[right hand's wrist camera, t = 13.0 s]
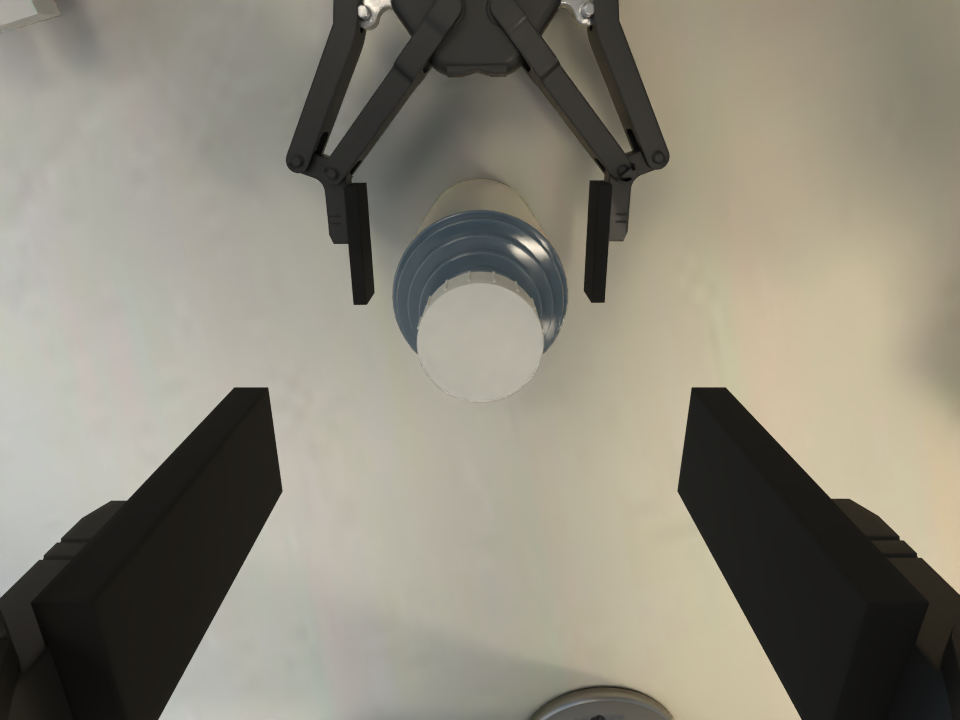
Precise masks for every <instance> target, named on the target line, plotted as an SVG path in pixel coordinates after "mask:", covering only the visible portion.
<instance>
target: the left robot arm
mask: <svg viewBox="0 0 960 720" xmlns="http://www.w3.org/2000/svg"><path fill="white" fill-rule="evenodd" d="M559 8H565V9H567V10H568V11H570V13H571V14H572V17H573V21H574V23H575V24H576V25H577V26H578V27H580V28H587V33H588V37H589V41H590V44H591V47H592V50H593V53H594V55H595V58H596V60H597V63H598V65H599V68H600V70H601V73H602V75H603V78H604V80H605V83H606V85H607V88H608V90H609V93H610V96H611V98H612V101H613V103H614V106H615V108H616V111H617V113H618V116H619V118H620V121H621V123H622V126H623V128H624V131H625V133H626V136H627V138H628V141H629V143H630V146H631V148H632V151H630V152H628V153H625V152H624V151H623V150H622V148H621V147H620V146H619V144H618V143H617V142H616V140H615V139H614V137H613V136H612V135H611V133H610V132H609V131H608V129H607V128H606V127H605V125H604V124H603V123H602V121H601V120H600V118H599V117H598V116H597V114H596V113H595V112H594V110H593V109H592V108H591V106H590V105H589V103H588V102H587V101H586V99H585V98H584V97H583V95H582V94H581V93H580V91H579V90H578V88H577V87H576V86H575V84H574V83H573V82H572V80H571V79H570V78H569V76H568V75H567V74H566V72H565V71H564V69H563V68H562V67H561V65H560V63H559V61H558V59H557V57H556V56H555V54H554V53H553V52H552V50H551V49H550V48H549V46H548V45H547V44H546V42H545V41H544V39H543V38H542V37H541V35H542V34H543V32H544V31H545V29H546V28H547V26H548V25H549V23H550V22H551V20H552V19H553V17H554V16H555V14H556V12H557V11H558V9H559ZM391 9H393V10H394V12H395V14H396V15H397V17H398V18H399V19H400V21H401V22H402V24H403V25H404V27H405V28H406V30H407V31H408V32H409V34H410V35H411V39H410V40H409V42H408V43H407V45H406V46H405V47H404V49H403V50H402V52H401V53H400V55H399V56H398V58H397V59H396V61H395V63H394V65H393V67H392V69H391V70H390V72H389V73H388V75H387V76H386V77H385V79H384V80H383V82H382V83H381V85H380V86H379V87H378V89H377V90H376V92H375V93H374V95H373V96H372V97H371V99H370V100H369V102H368V103H367V104H366V106H365V107H364V109H363V110H362V112H361V113H360V114H359V116H358V117H357V119H356V120H355V122H354V123H353V124H352V126H351V127H350V129H349V130H348V132H347V133H346V134H345V136H344V137H343V139H342V140H341V141H340V143H339V144H338V146H337V147H336V149H335V150H334V151H333V153H332V154H331V156H328V155H325V154H323V153H324V150H325V147H326V145H327V142H328V139H329V137H330V134H331V131H332V129H333V126H334V123H335V121H336V118H337V115H338V113H339V110H340V107H341V104H342V102H343V99H344V96H345V94H346V91H347V88H348V86H349V83H350V80H351V78H352V75H353V72H354V70H355V67H356V64H357V62H358V59H359V56H360V53H361V51H362V47H363V44H364V40H365V35H366V30H373V29H375V28H376V27H377V26H378V24H379V21H380V18H381V15H382V14H383V13H384V12H385V11H387V10H391ZM520 66H522V67H523V69H524V70H525V71H526V73H527V74H528V75H529V77H530V78H531V79H532V81H533V82H534V83H535V84H536V85H537V86H538V87H539V88H540V90H541V91H542V92H543V94H544V95H545V96H546V98H547V99H548V100H549V101H550V103H551V104H552V105H553V107H554V108H555V109H556V111H557V112H558V113H559V115H560V116H561V117H562V119H563V120H564V121H565V123H566V124H567V125H568V127H569V128H570V129H571V131H572V132H573V133H574V135H575V136H576V137H577V139H578V140H579V141H580V143H581V144H582V145H583V146H584V148H585V149H586V150H587V152H588V153H589V154H590V156H591V157H592V158H593V160H594V161H595V162H596V164H597V165H598V166H599V168H600V169H601V170H602V172H603V173H604V174H605V176H604V181H603V180H600V181H590V186H589V204H588V223H587V241H586V260H585V278H584V292H585V293H586V295H587V297H588V298H589V300H590V301H591V303H605V288H606V273H607V258H608V244H609V241H623V240H624V238H625V236H626V234H627V231H628V218H629V206H630V193H631V185H632V183H633V181H634V180H635V179H636V178H637V177H638V176H640V175H642V174H645V173H647V172H650V171H653V170H655V169H657V170H658V169H662V168H663V167H665V166H666V165H667V163H668V161H669V152H668V149H667V146H666V144H665V141H664V138H663V136H662V133H661V130H660V128H659V125H658V122H657V120H656V117H655V114H654V112H653V109H652V106H651V104H650V101H649V98H648V96H647V93H646V90H645V88H644V85H643V82H642V80H641V77H640V74H639V72H638V69H637V66H636V64H635V61H634V59H633V56H632V53H631V51H630V48H629V45H628V43H627V40H626V37H625V35H624V32H623V29H622V27H621V24H620V21H619V2H618V0H334V5H333V25H332V28H331V31H330V34H329V37H328V40H327V42H326V45H325V48H324V51H323V54H322V57H321V59H320V62H319V65H318V68H317V71H316V74H315V77H314V79H313V82H312V85H311V88H310V91H309V94H308V96H307V99H306V102H305V105H304V108H303V111H302V113H301V116H300V119H299V122H298V125H297V128H296V130H295V133H294V136H293V139H292V142H291V145H290V147H289V150H288V153H287V156H286V163H287V166H288V168H289V169H290V170H291V171H293V172H295V173H302V174H305V175H307V176H310V177H313V178H315V179H317V180H319V181H320V182H321V183H322V185H323V187H324V189H325V195H326V205H327V216H328V224H329V225H328V226H329V235H330V237H331V239H332V241H333V243H334V244H348V245H349V257H350V268H351V279H352V291H353V302H354V305H367V304H368V302H369V301H370V299H371V297H372V296H373V294H374V293H375V292H374V278H373V265H372V251H371V238H370V225H369V211H368V198H367V184H366V183H352V180H351V179H352V178H353V176H352V175H353V174H354V173H355V171H356V170H357V169H358V167H359V166H360V164H361V163H362V162H363V160H364V159H365V157H366V156H367V155H368V153H369V152H370V151H371V149H372V148H373V146H374V145H375V144H376V142H377V141H378V139H379V138H380V137H381V135H382V134H383V133H384V131H385V130H386V128H387V127H388V126H389V124H390V123H391V122H392V120H393V119H394V117H395V116H396V115H397V113H398V112H399V110H400V109H401V108H402V106H403V105H404V104H405V102H406V101H407V99H408V98H409V97H410V95H411V94H412V92H413V91H414V90H415V88H416V87H417V86H418V85H419V84H420V83H421V82H422V80H423V79H424V78H425V76H426V75H427V74H428V72H429V71H430V69H431V68H432V67H433V68H434V69H436V70H437V71H438V72H440V73H442V74H444V75H447V76H448V77H464V76H467V75H470V74H474V73H480V74H484V75H487V76H491V77H506V75H508V74H510V73H513V72H514V71H516V70H517V69H518V68H519V67H520Z"/></svg>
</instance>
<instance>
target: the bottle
mask: <svg viewBox="0 0 960 720" xmlns="http://www.w3.org/2000/svg"><path fill="white" fill-rule="evenodd" d="M468 271H471V272H491V273H492V272H495V273H496V274H499V275H502V276H505V277H507V278H509V279H510V280H512V281H514V282H515V281H516V282H517V284H518V285H519V286H520V287H521V288H522V289H524V290H525V292H526V293H527V294H528V295H529V297H530V298H533V301H534V304H535V307H536V311H537V314H538V317H539V319H541V322H542V326H543V329H544V332H543V337H544V348H543V354H544V353H545V352H546V351H547V350H548V348H549V347H550V346H551V344H552V343H553V342H554V340H555V338H556V337H557V335H558V333H559V331H560V329H561V327H562V324H563V322H564V318H565V315H566V310H567V303H568V287H567V279H566V275H565V272H564V268H563V266H562V263H561V261H560V259H559V257H558V255H557V253H556V252H555V250H554V248H553V246H552V245H551V243H550V242H549V240H548V238H547V237H546V235H545V233H544V232H543V230H542V229H541V227H540V225H539V224H538V222H537V220H536V219H535V217H534V216H533V214H532V212H531V211H530V209H529V207H528V206H527V204H526V202H525V201H524V200H523V199H522V197H521V196H520V195H519V194H518V193H517V192H515V191H514V190H513V189H511V188H510V187H508V186H507V185H505V184H503V183H500V182H497V181H494V180H490V179H471V180H466V181H463V182H460V183H458V184H456V185H454V186H452V187H450V188H449V189H447V190H446V191H445V192H444V193H443V194H442V195H441V196H440V197H439V198H438V199H437V200H436V202H435V203H434V205H433V206H432V208H431V209H430V211H429V213H428V214H427V216H426V218H425V219H424V221H423V223H422V224H421V226H420V227H419V229H418V231H417V232H416V234H415V236H414V237H413V239H412V241H411V242H410V244H409V245H408V247H407V249H406V250H405V252H404V254H403V256H402V258H401V260H400V262H399V264H398V267H397V270H396V273H395V277H394V283H393V308H394V313H395V317H396V320H397V323H398V326H399V328H400V331H401V332H402V334H403V336H404V338H405V340H406V341H407V342H408V344H409V345H410V347H411V348H412V349H413V350H414V351H415V352H416V353H417V354H418V352H417V334H418V329H417V326H418V323H419V320H420V317H422V315H423V312H424V309H425V307H426V305H427V301H428V298H429V296H432V295H433V293H434V292H435V291H436V290H437V289H438V288H439V287H440V286H441V285H443V284H444V283H445V281H446V280H447V279H448V280H450V279H452V278H454V277H456V276H458V275H462V274H465V273H468Z"/></svg>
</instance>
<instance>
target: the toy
mask: <svg viewBox="0 0 960 720" xmlns="http://www.w3.org/2000/svg"><path fill="white" fill-rule="evenodd" d="M59 15H62V14H61V12H60V10H59V8H58V6H57V4H56V2H55V0H0V28H20V27H24V26H27V25H30V24H33V23H36V22H40V21H43V20H46V19H49V18H52V17H56V16H59ZM0 34H1V31H0Z"/></svg>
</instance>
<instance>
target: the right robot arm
mask: <svg viewBox="0 0 960 720" xmlns="http://www.w3.org/2000/svg"><path fill="white" fill-rule="evenodd" d="M281 493H282V484H281V477H280V470H279V462H278V455H277V448H276V441H275V434H274V426H273V419H272V412H271V405H270V397H269V390H268V388H233V390H232V391H231V392H230V393H229V394H228V395H227V396H226V397H225V398H224V399H223V400H222V401H221V402H220V403H219V404H218V405H217V406H216V407H215V409H214V410H213V411H212V412H211V413H210V414H209V415H208V416H207V417H206V418H205V419H204V420H203V421H202V422H201V423H200V424H199V425H198V426H197V428H196V429H195V430H194V431H193V432H192V433H191V434H190V435H189V436H188V437H187V438H186V439H185V440H184V441H183V442H182V443H181V444H180V445H179V447H178V448H177V449H176V450H175V451H174V452H173V453H172V454H171V455H170V456H169V457H168V458H167V459H166V460H165V461H164V462H163V463H162V464H161V466H160V467H159V468H158V469H157V470H156V471H155V472H154V473H153V474H152V475H151V476H150V477H149V478H148V479H147V480H146V481H145V482H144V483H143V485H142V486H141V487H140V488H139V489H138V490H137V491H136V492H135V493H134V494H133V495H132V496H131V497H130V498H129V499H128V500H127V501H110V502H108V503H107V504H105V505H103V506H102V507H100V508H98V509H97V510H95V511H93V512H92V513H90V514H88V515H86V516H85V517H83V518H82V519H81V520H80V521H79V522H78V523H77V524H76V525H74V526H73V527H72V528H71V529H70V530H69V531H68V532H67V533H66V534H65V535H64V536H63V537H62V538H61V542H60V543H56V544H55V545H54V546H53V547H52V548H51V549H50V550H49V551H48V552H47V553H46V554H45V555H44V559H43V560H39V561H38V562H37V563H36V564H35V565H34V566H33V567H32V568H31V569H30V570H29V571H28V572H27V573H25V574H24V575H23V576H22V577H21V578H20V579H19V580H18V581H17V582H16V583H15V584H14V585H13V586H12V587H11V588H10V589H9V590H8V591H7V592H6V593H5V594H4V595H3V596H2V597H1V598H0V720H158V719H159V717H160V715H161V714H162V712H163V710H164V708H165V706H166V704H167V703H168V701H169V699H170V697H171V695H172V693H173V692H174V690H175V688H176V686H177V684H178V682H179V680H180V679H181V677H182V675H183V673H184V671H185V669H186V668H187V666H188V664H189V662H190V660H191V658H192V657H193V655H194V653H195V651H196V649H197V647H198V646H199V644H200V642H201V640H202V638H203V636H204V635H205V633H206V631H207V629H208V627H209V625H210V624H211V622H212V620H213V618H214V616H215V614H216V613H217V611H218V609H219V607H220V605H221V603H222V601H223V600H224V598H225V596H226V594H227V592H228V590H229V589H230V587H231V585H232V583H233V581H234V579H235V578H236V576H237V574H238V572H239V570H240V568H241V567H242V565H243V563H244V561H245V559H246V557H247V556H248V554H249V552H250V550H251V548H252V546H253V545H254V543H255V541H256V539H257V537H258V535H259V533H260V532H261V530H262V528H263V526H264V524H265V522H266V521H267V519H268V517H269V515H270V513H271V511H272V510H273V508H274V506H275V504H276V502H277V500H278V499H279V497H280V495H281ZM678 493H679V495H680V497H681V499H682V500H683V502H684V504H685V506H686V508H687V510H688V511H689V513H690V515H691V517H692V519H693V521H694V522H695V524H696V526H697V528H698V530H699V532H700V533H701V535H702V537H703V539H704V541H705V543H706V545H707V546H708V548H709V550H710V552H711V554H712V556H713V557H714V559H715V561H716V563H717V565H718V567H719V568H720V570H721V572H722V574H723V576H724V578H725V579H726V581H727V583H728V585H729V587H730V589H731V590H732V592H733V594H734V596H735V598H736V600H737V601H738V603H739V605H740V607H741V609H742V611H743V612H744V614H745V616H746V618H747V620H748V622H749V624H750V625H751V627H752V629H753V631H754V633H755V635H756V636H757V638H758V640H759V642H760V644H761V646H762V647H763V649H764V651H765V653H766V655H767V657H768V658H769V660H770V662H771V664H772V666H773V668H774V669H775V671H776V673H777V675H778V677H779V679H780V680H781V682H782V684H783V686H784V688H785V690H786V692H787V693H788V695H789V697H790V699H791V701H792V703H793V704H794V706H795V708H796V710H797V712H798V714H799V715H800V717H801V719H802V720H960V595H959V594H958V593H957V592H956V591H955V590H954V589H953V588H952V587H951V586H950V585H949V584H948V583H947V582H946V581H945V580H944V579H943V578H942V577H941V576H940V575H939V574H938V573H937V572H935V571H934V570H933V569H932V568H931V567H930V566H929V565H928V564H927V563H926V562H925V561H924V560H923V559H922V558H918V557H917V553H916V552H915V551H914V550H913V549H912V548H911V547H910V546H909V545H908V544H907V543H906V542H905V541H900V539H899V536H898V535H897V534H896V533H895V532H894V531H893V530H892V529H891V528H890V527H889V526H888V525H887V524H886V523H885V522H884V521H883V520H882V519H881V518H880V517H879V516H877V515H876V514H874V513H872V512H871V511H869V510H867V509H866V508H864V507H862V506H861V505H859V504H857V503H856V502H854V501H852V500H850V499H831V498H830V497H829V496H828V495H827V494H826V493H825V492H824V491H823V490H822V489H821V488H820V487H819V486H818V485H817V483H816V482H815V481H814V480H813V479H812V478H811V477H810V476H809V475H808V474H807V473H806V472H805V471H804V470H803V469H802V468H801V467H800V466H799V464H798V463H797V462H796V461H795V460H794V459H793V458H792V457H791V456H790V455H789V454H788V453H787V452H786V451H785V450H784V449H783V448H782V447H781V445H780V444H779V443H778V442H777V441H776V440H775V439H774V438H773V437H772V436H771V435H770V434H769V433H768V432H767V431H766V430H765V429H764V428H763V426H762V425H761V424H760V423H759V422H758V421H757V420H756V419H755V418H754V417H753V416H752V415H751V414H750V413H749V412H748V411H747V410H746V409H745V407H744V406H743V405H742V404H741V403H740V402H739V401H738V400H737V399H736V398H735V397H734V396H733V395H732V394H731V393H730V392H729V391H728V390H727V388H692V390H691V397H690V405H689V412H688V419H687V426H686V434H685V441H684V448H683V455H682V462H681V470H680V477H679V484H678ZM530 720H674V719H673V717H672V716H671V715H670V713H669V712H668V711H667V710H666V709H665V708H664V707H663V706H662V705H660V704H659V703H658V702H656V701H655V700H653V699H651V698H649V697H647V696H645V695H643V694H640V693H637V692H634V691H630V690H626V689H620V688H590V689H583V690H579V691H575V692H572V693H568V694H566V695H563V696H561V697H558V698H556V699H554V700H552V701H551V702H549V703H547V704H546V705H545V706H543V707H542V708H541V709H539V710H538V711H537V712H536V713H535V714H534V715H533V716H532V717H531V718H530Z"/></svg>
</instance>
